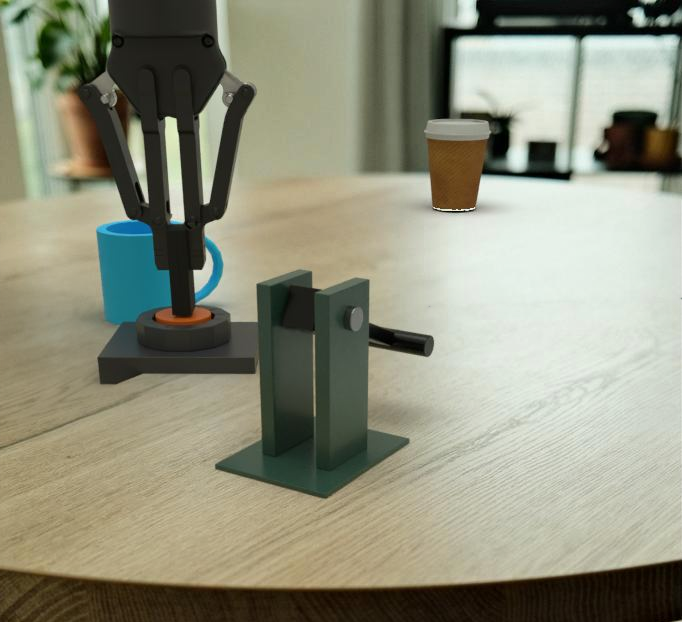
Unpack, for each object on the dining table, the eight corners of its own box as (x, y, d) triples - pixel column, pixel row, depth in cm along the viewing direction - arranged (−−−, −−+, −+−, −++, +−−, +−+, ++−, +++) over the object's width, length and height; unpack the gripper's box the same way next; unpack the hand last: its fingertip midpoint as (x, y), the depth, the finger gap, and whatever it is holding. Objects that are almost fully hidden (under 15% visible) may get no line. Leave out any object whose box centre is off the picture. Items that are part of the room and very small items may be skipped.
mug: (123, 332, 91) (114, 239, 88) (93, 311, 97) (83, 224, 94) (243, 313, 97) (239, 226, 93) (207, 295, 103) (202, 212, 100)
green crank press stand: (306, 431, 70) (304, 257, 64) (409, 455, 66) (415, 273, 61) (215, 482, 62) (204, 290, 57) (325, 513, 58) (324, 310, 53)
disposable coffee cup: (494, 213, 146) (500, 124, 140) (429, 215, 144) (433, 125, 139) (476, 202, 154) (481, 118, 149) (415, 204, 153) (417, 119, 148)
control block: (100, 384, 78) (94, 334, 77) (125, 346, 87) (120, 300, 86) (255, 384, 78) (253, 334, 77) (264, 346, 87) (263, 300, 86)
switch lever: (353, 351, 70) (360, 317, 70) (429, 365, 68) (437, 330, 67) (254, 320, 60) (263, 280, 60) (340, 336, 57) (350, 293, 57)
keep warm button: (152, 342, 80) (150, 320, 79) (161, 327, 84) (160, 306, 83) (208, 342, 80) (207, 321, 79) (215, 327, 84) (214, 306, 83)
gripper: (258, -23, 74) (269, 298, 84) (79, -23, 74) (111, 299, 84) (250, -27, 67) (262, 323, 77) (52, -27, 67) (91, 323, 77)
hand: (184, 310), depth 81 cm, fingers closed
